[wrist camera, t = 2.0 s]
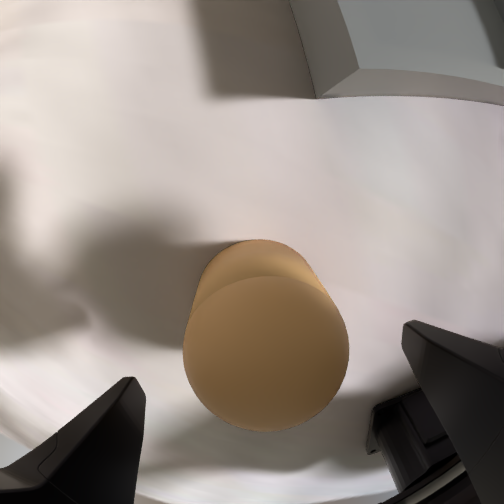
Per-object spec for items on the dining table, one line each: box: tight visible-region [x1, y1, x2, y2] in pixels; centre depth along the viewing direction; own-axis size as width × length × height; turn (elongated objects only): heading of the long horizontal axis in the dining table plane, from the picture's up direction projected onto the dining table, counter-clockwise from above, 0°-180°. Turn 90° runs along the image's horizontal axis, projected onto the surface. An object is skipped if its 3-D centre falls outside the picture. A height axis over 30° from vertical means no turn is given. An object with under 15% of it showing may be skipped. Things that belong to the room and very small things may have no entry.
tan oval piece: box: [183, 239, 349, 432], centre depth 10 cm, size 5×5×7 cm
